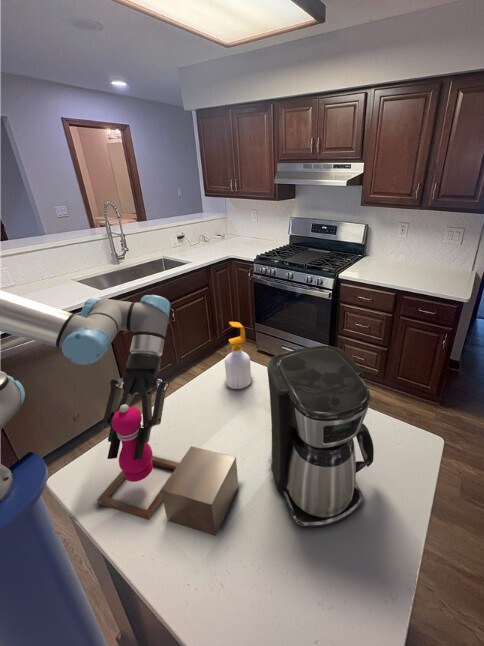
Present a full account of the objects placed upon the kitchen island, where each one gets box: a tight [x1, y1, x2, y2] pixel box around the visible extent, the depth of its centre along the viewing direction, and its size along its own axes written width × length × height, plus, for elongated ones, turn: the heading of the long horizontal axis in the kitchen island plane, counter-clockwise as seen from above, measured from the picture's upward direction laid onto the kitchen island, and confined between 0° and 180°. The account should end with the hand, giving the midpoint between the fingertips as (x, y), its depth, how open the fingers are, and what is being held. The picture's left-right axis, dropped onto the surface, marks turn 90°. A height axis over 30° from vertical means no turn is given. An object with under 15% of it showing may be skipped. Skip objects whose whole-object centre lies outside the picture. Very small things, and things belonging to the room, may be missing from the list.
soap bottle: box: [224, 321, 252, 390], centre depth 112 cm, size 9×9×25 cm
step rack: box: [96, 446, 239, 537], centre depth 74 cm, size 30×14×10 cm, turn 75°
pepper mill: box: [112, 404, 154, 483], centre depth 72 cm, size 7×7×20 cm
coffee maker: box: [266, 345, 375, 528], centre depth 75 cm, size 23×32×34 cm
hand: (124, 458), depth 69 cm, fingers closed on pepper mill, 5 cm apart
